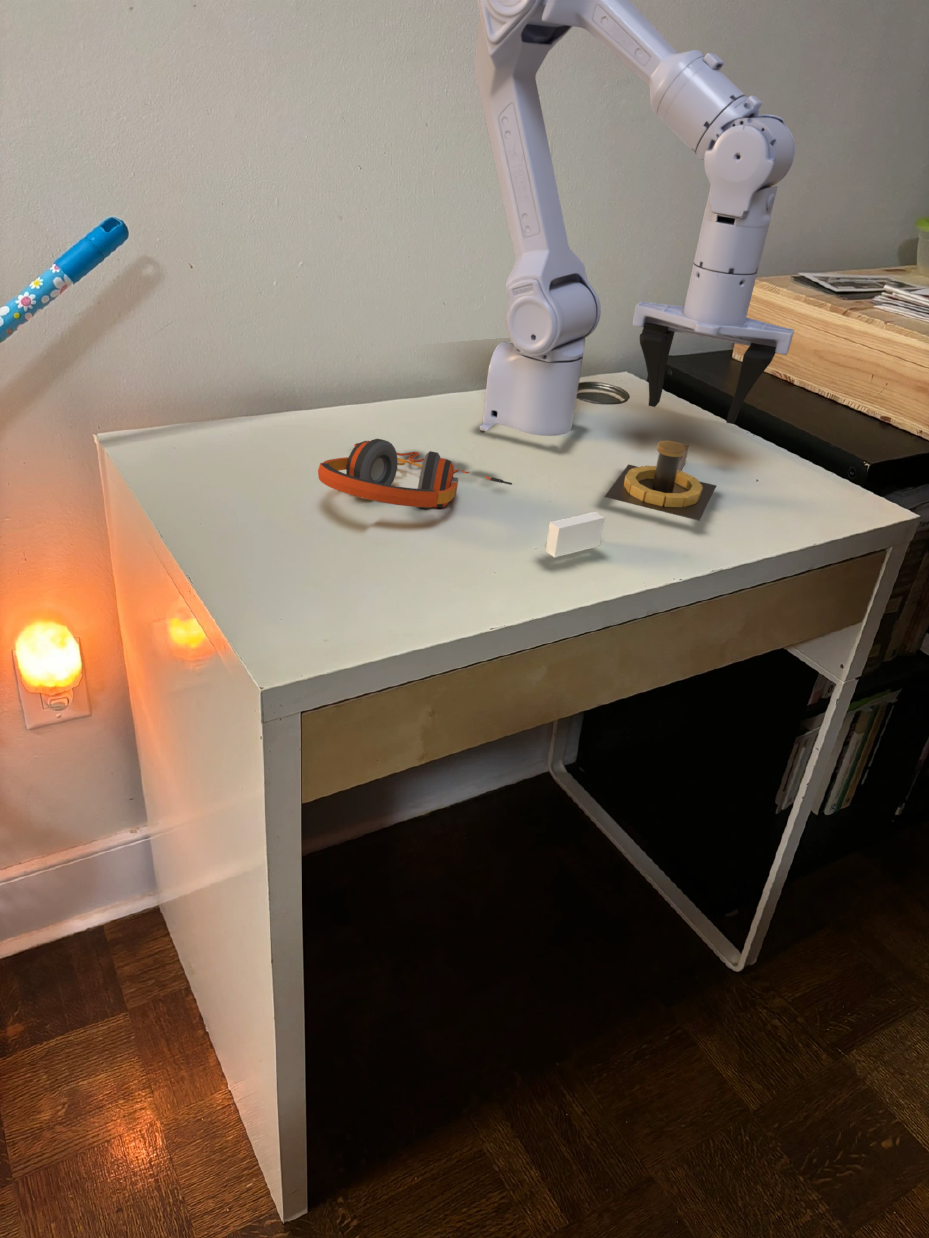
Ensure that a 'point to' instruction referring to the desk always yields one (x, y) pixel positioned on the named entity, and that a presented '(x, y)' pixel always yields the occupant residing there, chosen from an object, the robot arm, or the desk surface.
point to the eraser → (574, 534)
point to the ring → (659, 497)
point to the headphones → (391, 476)
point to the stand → (664, 483)
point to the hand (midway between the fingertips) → (692, 412)
